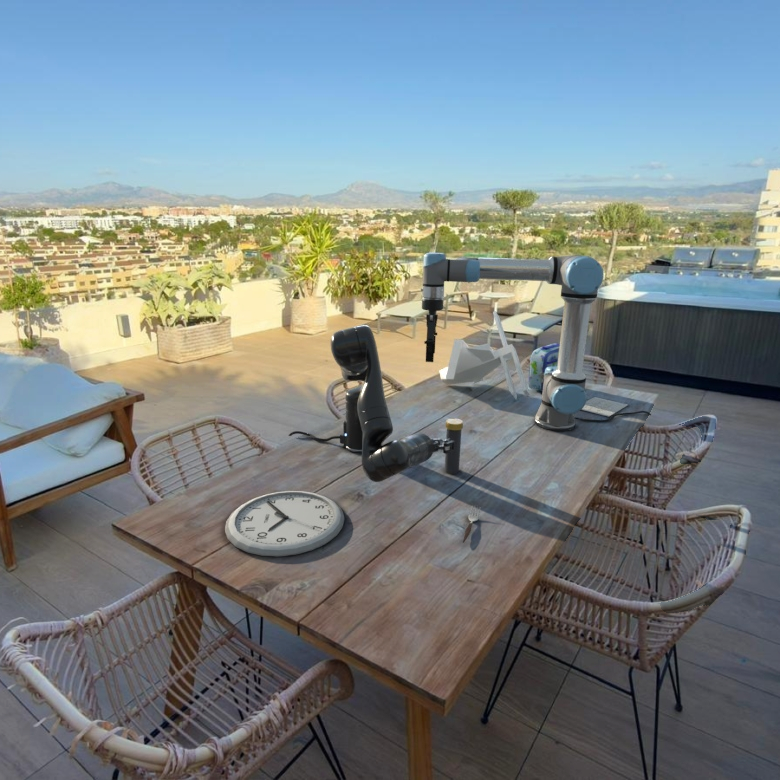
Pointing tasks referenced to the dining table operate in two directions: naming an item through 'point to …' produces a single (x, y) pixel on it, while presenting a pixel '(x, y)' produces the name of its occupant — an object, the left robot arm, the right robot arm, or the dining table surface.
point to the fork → (472, 519)
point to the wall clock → (284, 523)
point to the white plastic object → (482, 362)
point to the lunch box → (542, 364)
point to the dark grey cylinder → (453, 452)
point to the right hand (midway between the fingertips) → (430, 357)
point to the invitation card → (603, 406)
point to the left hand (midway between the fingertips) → (435, 440)
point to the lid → (454, 424)
